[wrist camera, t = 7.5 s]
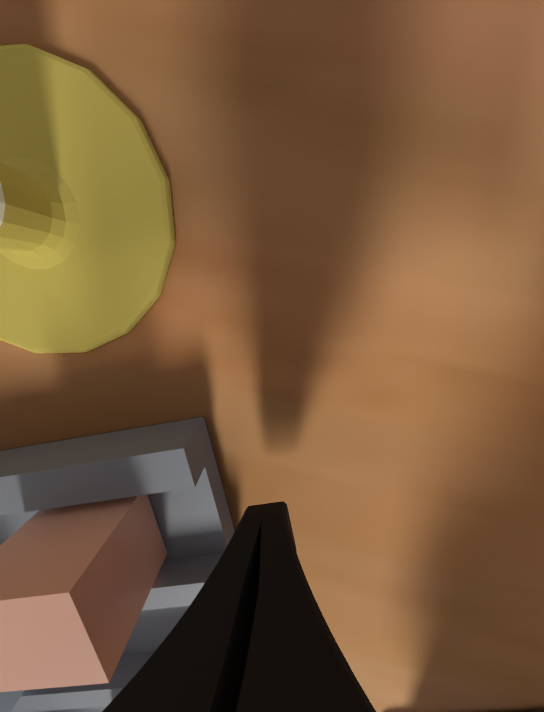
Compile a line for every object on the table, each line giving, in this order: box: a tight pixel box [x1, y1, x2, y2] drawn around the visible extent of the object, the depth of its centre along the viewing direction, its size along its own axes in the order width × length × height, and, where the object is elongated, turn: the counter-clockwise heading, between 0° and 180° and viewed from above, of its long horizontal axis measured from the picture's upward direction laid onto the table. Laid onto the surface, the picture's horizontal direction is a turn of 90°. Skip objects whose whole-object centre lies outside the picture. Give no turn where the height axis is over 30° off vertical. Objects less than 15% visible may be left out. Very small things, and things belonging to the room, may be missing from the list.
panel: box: [0, 417, 235, 712], centre depth 13 cm, size 16×17×3 cm
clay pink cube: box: [0, 494, 167, 692], centre depth 10 cm, size 4×3×4 cm
